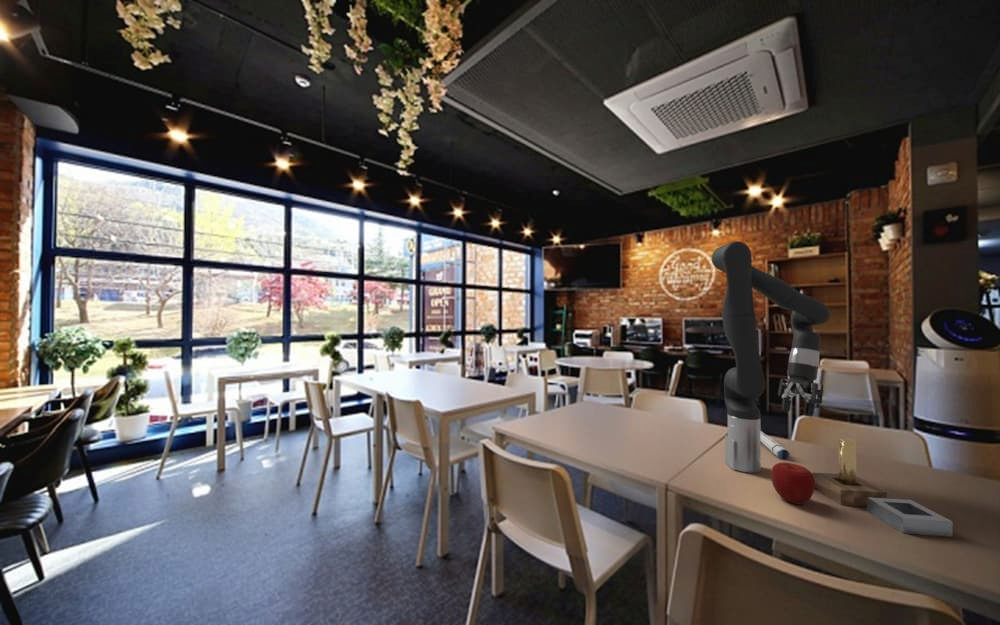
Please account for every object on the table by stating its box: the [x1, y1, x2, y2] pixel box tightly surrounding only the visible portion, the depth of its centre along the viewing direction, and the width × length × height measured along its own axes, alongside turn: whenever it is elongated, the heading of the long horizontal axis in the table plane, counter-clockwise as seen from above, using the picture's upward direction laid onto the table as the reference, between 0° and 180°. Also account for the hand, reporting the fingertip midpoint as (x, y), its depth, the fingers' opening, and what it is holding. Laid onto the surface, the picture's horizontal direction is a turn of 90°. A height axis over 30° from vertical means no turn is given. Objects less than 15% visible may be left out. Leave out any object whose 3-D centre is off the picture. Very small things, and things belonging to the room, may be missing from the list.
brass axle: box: [838, 436, 857, 486], centre depth 105 cm, size 4×4×16 cm
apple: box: [770, 462, 816, 505], centre depth 102 cm, size 10×10×10 cm
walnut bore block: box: [811, 471, 888, 507], centre depth 105 cm, size 11×11×4 cm
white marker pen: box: [760, 430, 791, 460], centre depth 143 cm, size 5×7×25 cm
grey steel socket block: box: [866, 497, 954, 538], centre depth 91 cm, size 10×10×4 cm
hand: (796, 413), depth 119 cm, fingers open, 8 cm apart
